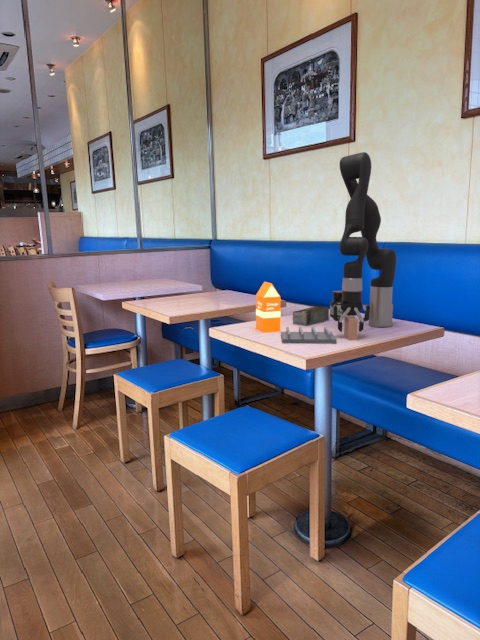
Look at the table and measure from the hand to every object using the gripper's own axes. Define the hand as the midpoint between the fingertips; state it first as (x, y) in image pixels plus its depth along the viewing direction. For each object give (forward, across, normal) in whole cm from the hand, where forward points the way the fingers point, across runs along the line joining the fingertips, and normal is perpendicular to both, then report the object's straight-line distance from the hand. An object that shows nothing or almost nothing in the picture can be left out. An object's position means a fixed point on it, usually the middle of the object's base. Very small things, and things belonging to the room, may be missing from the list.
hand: (350, 331), depth 188 cm
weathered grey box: (+3, +12, -30) cm, 33 cm away
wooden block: (+2, 0, 0) cm, 2 cm away
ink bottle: (+3, -3, -45) cm, 45 cm away
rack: (+2, +17, +4) cm, 18 cm away
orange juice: (+3, +32, -13) cm, 35 cm away
